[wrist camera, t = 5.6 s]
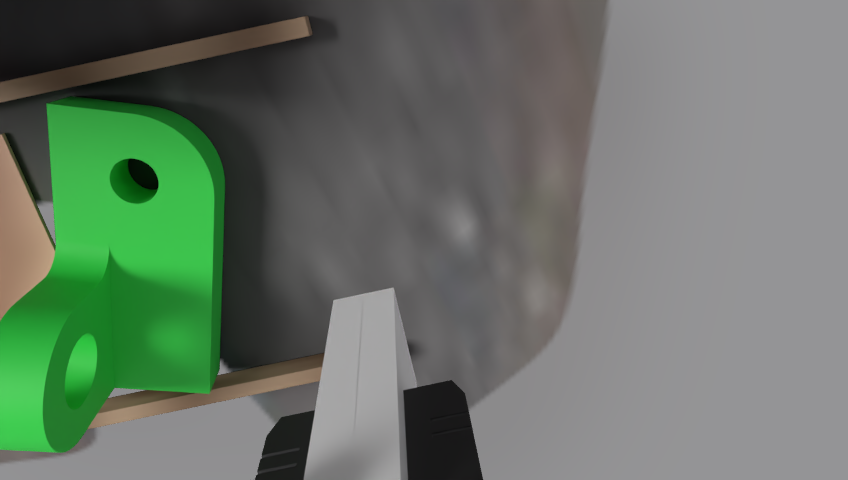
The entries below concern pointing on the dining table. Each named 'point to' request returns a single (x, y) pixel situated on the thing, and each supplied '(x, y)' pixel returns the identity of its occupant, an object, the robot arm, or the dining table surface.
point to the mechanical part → (116, 274)
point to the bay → (34, 248)
